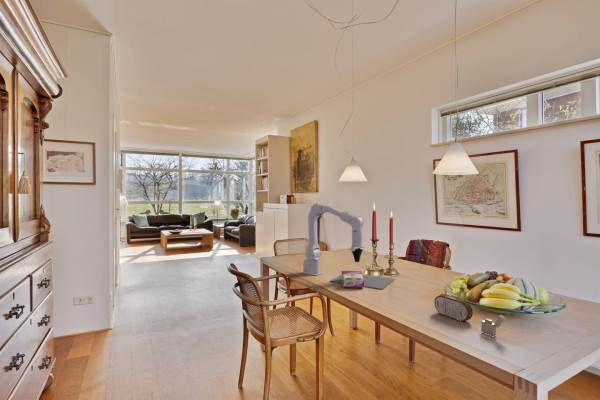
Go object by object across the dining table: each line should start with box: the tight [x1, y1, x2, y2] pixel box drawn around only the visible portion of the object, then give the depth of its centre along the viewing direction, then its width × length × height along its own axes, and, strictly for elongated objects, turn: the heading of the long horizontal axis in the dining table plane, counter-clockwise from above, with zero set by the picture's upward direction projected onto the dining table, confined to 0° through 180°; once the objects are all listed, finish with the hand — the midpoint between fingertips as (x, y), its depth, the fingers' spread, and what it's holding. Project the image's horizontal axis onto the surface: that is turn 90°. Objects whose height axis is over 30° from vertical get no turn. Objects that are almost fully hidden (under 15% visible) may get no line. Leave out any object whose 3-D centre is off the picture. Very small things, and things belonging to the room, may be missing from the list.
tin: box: [433, 293, 474, 322], centre depth 127 cm, size 15×3×8 cm, turn 32°
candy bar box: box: [341, 270, 365, 288], centre depth 174 cm, size 11×5×16 cm
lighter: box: [480, 314, 506, 337], centre depth 110 cm, size 7×2×8 cm, turn 32°
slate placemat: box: [329, 274, 395, 291], centre depth 181 cm, size 30×22×1 cm
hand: (357, 261), depth 183 cm, fingers closed
